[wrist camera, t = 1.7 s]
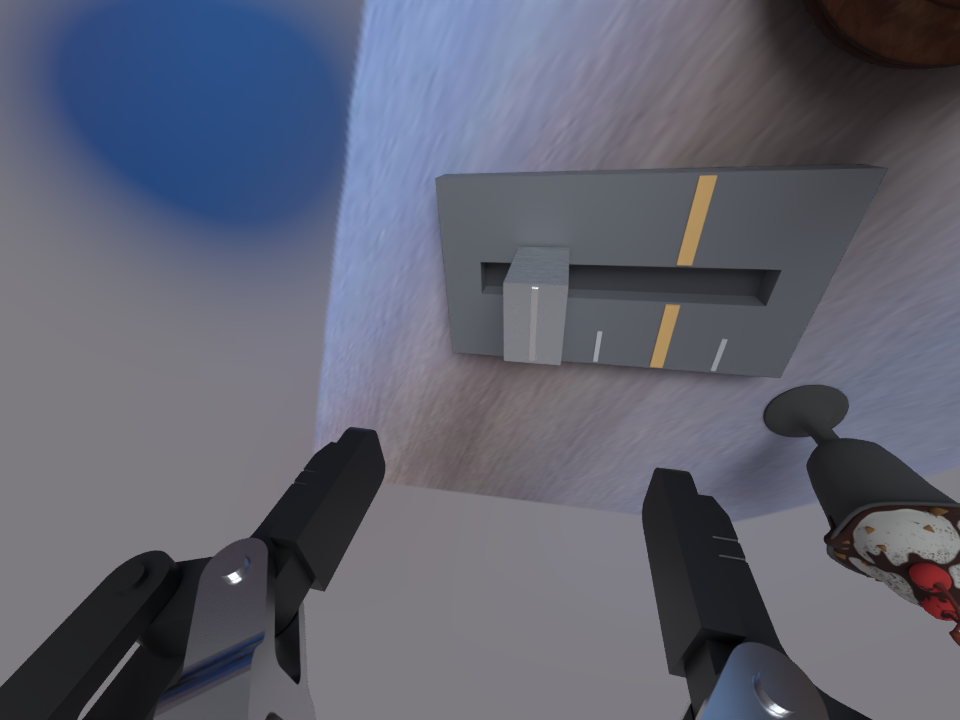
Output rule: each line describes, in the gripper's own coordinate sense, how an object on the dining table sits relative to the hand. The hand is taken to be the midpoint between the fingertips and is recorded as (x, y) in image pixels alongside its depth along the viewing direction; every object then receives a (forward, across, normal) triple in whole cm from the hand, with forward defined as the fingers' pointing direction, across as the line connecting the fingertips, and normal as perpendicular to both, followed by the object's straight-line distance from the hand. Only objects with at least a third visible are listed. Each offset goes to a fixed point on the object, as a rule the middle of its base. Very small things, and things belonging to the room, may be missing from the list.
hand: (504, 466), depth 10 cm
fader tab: (+17, 0, 0) cm, 17 cm away
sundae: (+17, -19, +10) cm, 28 cm away
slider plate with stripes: (+17, -5, 0) cm, 18 cm away
